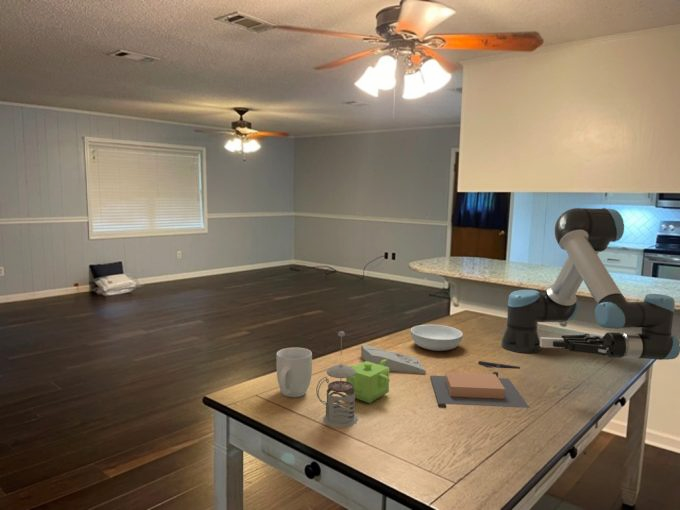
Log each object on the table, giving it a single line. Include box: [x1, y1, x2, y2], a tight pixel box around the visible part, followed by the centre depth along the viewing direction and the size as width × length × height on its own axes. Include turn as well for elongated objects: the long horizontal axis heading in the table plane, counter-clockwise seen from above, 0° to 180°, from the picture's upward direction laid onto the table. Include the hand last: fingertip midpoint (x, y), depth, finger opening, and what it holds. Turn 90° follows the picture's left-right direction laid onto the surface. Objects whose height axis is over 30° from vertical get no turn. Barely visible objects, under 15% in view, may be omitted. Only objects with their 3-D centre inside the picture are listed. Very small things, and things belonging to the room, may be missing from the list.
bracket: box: [478, 360, 521, 377], centre depth 169 cm, size 14×15×3 cm
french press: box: [316, 330, 359, 429], centre depth 130 cm, size 10×12×25 cm
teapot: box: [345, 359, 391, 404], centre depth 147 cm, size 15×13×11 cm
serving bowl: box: [410, 324, 464, 352], centre depth 195 cm, size 21×21×7 cm
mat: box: [429, 375, 530, 409], centre depth 151 cm, size 22×26×1 cm
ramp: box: [360, 344, 427, 375], centre depth 175 cm, size 28×16×5 cm, turn 54°
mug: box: [275, 347, 313, 398], centre depth 146 cm, size 15×11×13 cm
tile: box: [444, 371, 505, 399], centre depth 150 cm, size 12×3×16 cm
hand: (540, 342), depth 146 cm, fingers closed
